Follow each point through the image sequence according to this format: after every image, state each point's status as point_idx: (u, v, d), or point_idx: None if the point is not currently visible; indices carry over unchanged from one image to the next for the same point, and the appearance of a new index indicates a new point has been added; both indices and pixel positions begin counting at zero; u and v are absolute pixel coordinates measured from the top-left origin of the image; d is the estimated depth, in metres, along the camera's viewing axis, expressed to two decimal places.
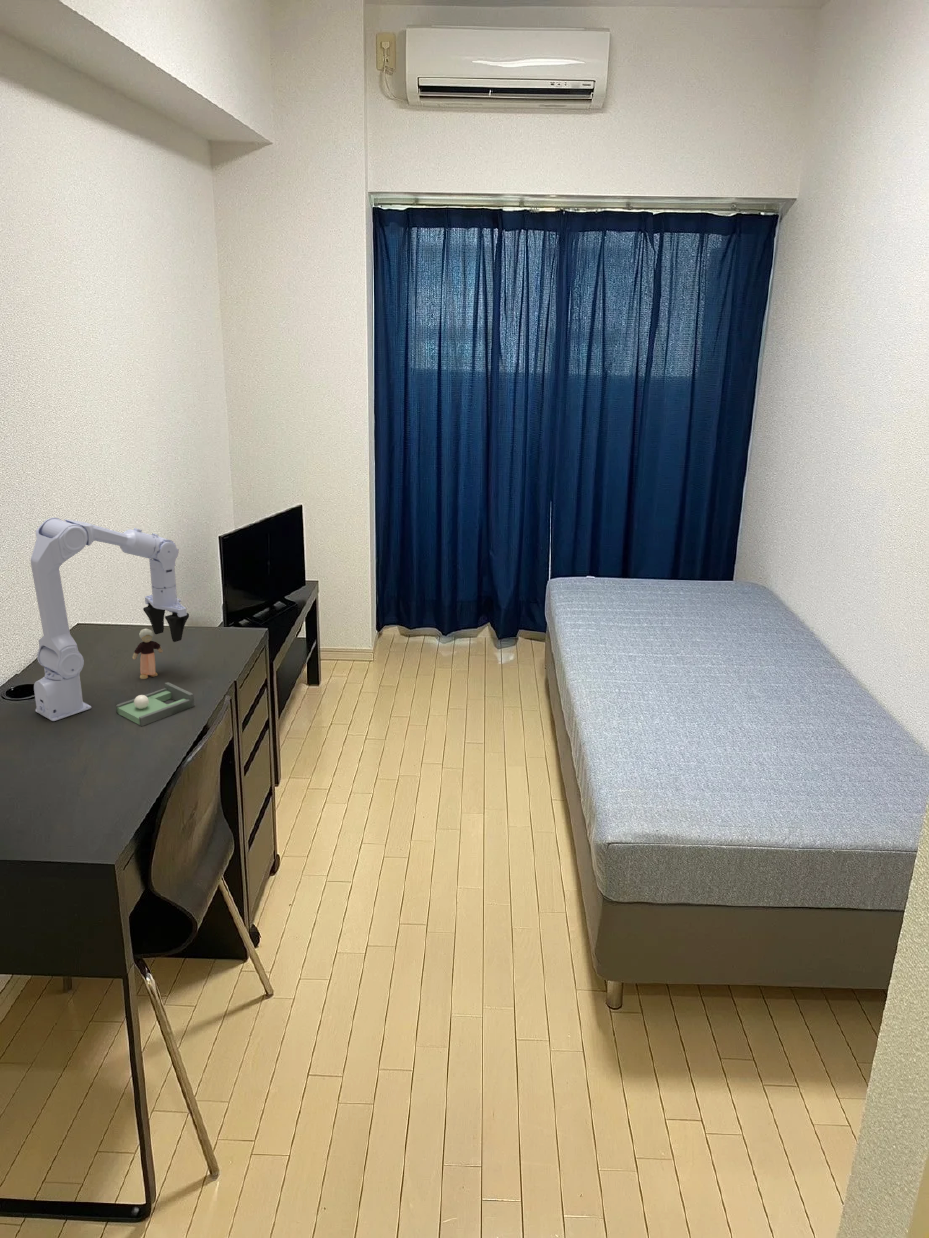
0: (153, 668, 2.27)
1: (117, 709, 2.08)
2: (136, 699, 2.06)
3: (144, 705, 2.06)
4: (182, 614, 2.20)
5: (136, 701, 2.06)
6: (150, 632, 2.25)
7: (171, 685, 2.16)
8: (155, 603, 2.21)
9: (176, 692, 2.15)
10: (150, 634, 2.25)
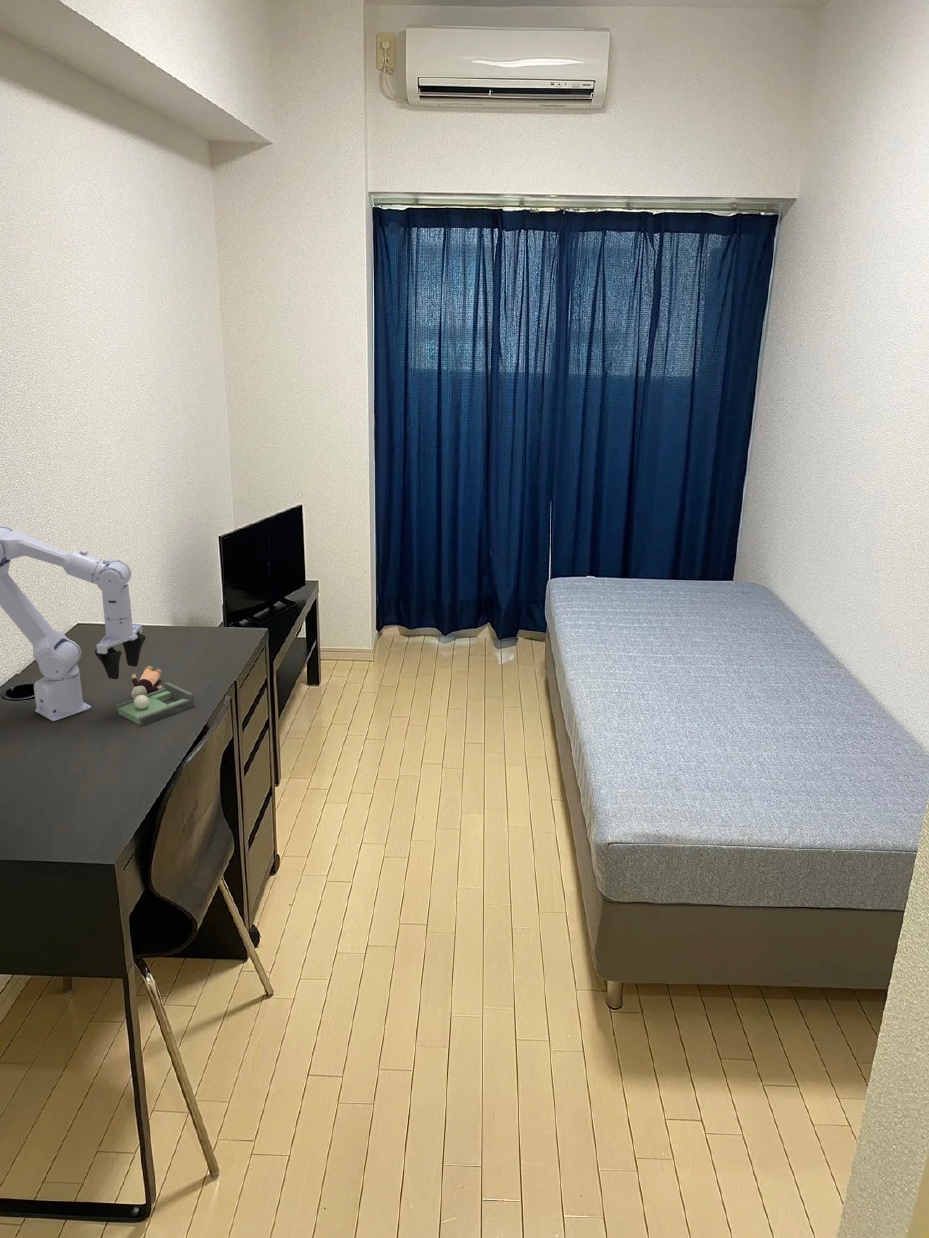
0: None
1: (117, 709, 2.08)
2: (136, 699, 2.06)
3: (144, 705, 2.06)
4: (99, 651, 1.98)
5: (136, 701, 2.06)
6: None
7: (171, 685, 2.16)
8: None
9: (176, 692, 2.15)
10: None
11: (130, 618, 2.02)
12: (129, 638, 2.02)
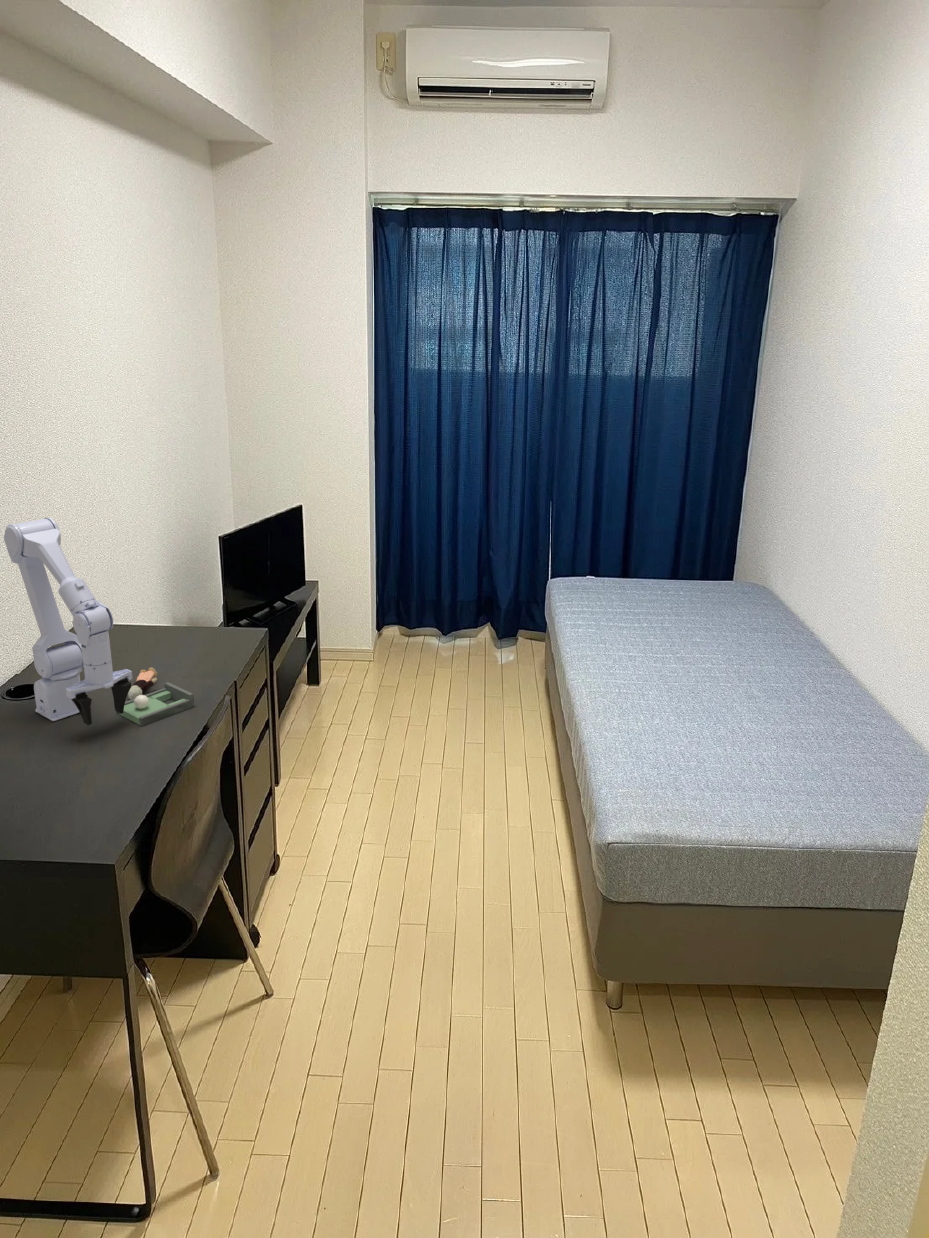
0: None
1: None
2: (136, 699, 2.06)
3: (144, 705, 2.06)
4: (67, 695, 1.92)
5: (136, 701, 2.06)
6: None
7: (171, 685, 2.16)
8: None
9: (176, 692, 2.15)
10: None
11: (106, 665, 1.95)
12: (103, 685, 1.95)
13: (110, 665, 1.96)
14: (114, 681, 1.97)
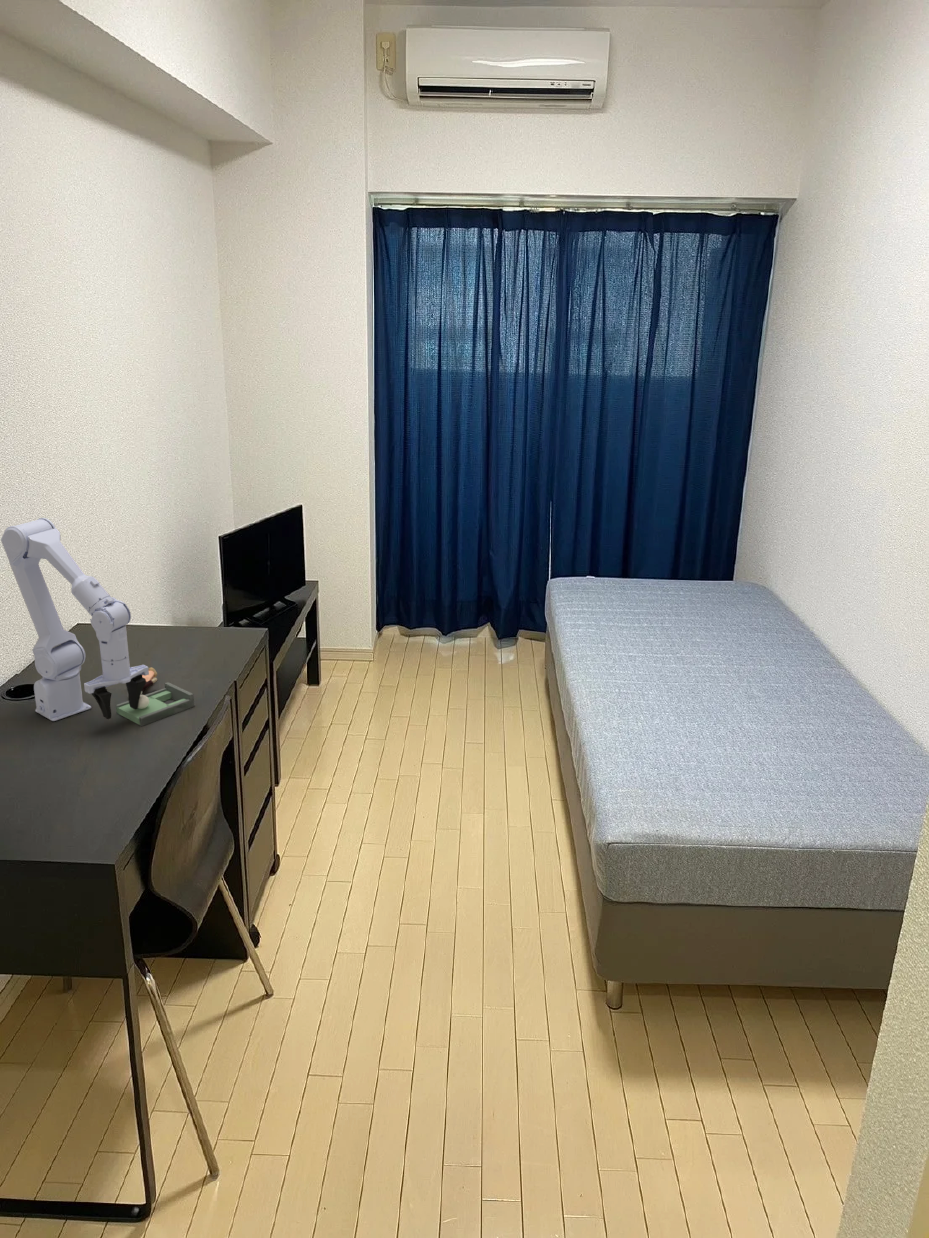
0: None
1: (117, 709, 2.08)
2: None
3: (144, 705, 2.06)
4: (86, 690, 1.96)
5: None
6: None
7: (171, 685, 2.16)
8: None
9: (176, 692, 2.15)
10: None
11: (124, 661, 1.98)
12: (120, 681, 1.98)
13: (127, 661, 1.99)
14: (131, 676, 2.00)
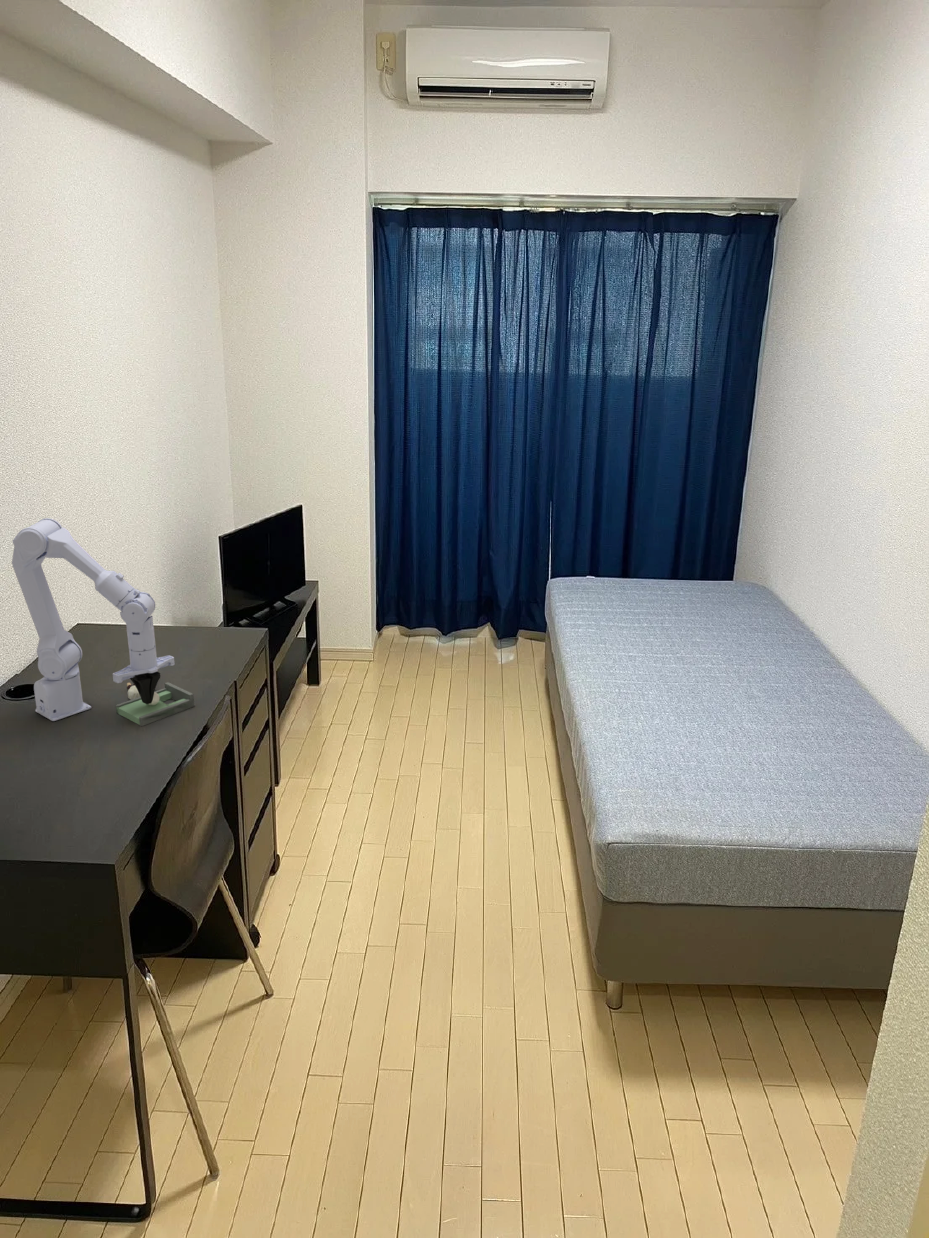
0: None
1: (117, 709, 2.08)
2: (156, 693, 2.10)
3: (154, 699, 2.08)
4: (114, 680, 2.00)
5: (155, 692, 2.09)
6: None
7: (171, 685, 2.16)
8: None
9: (176, 692, 2.15)
10: None
11: (151, 651, 2.03)
12: (147, 670, 2.03)
13: (154, 651, 2.04)
14: (158, 666, 2.05)
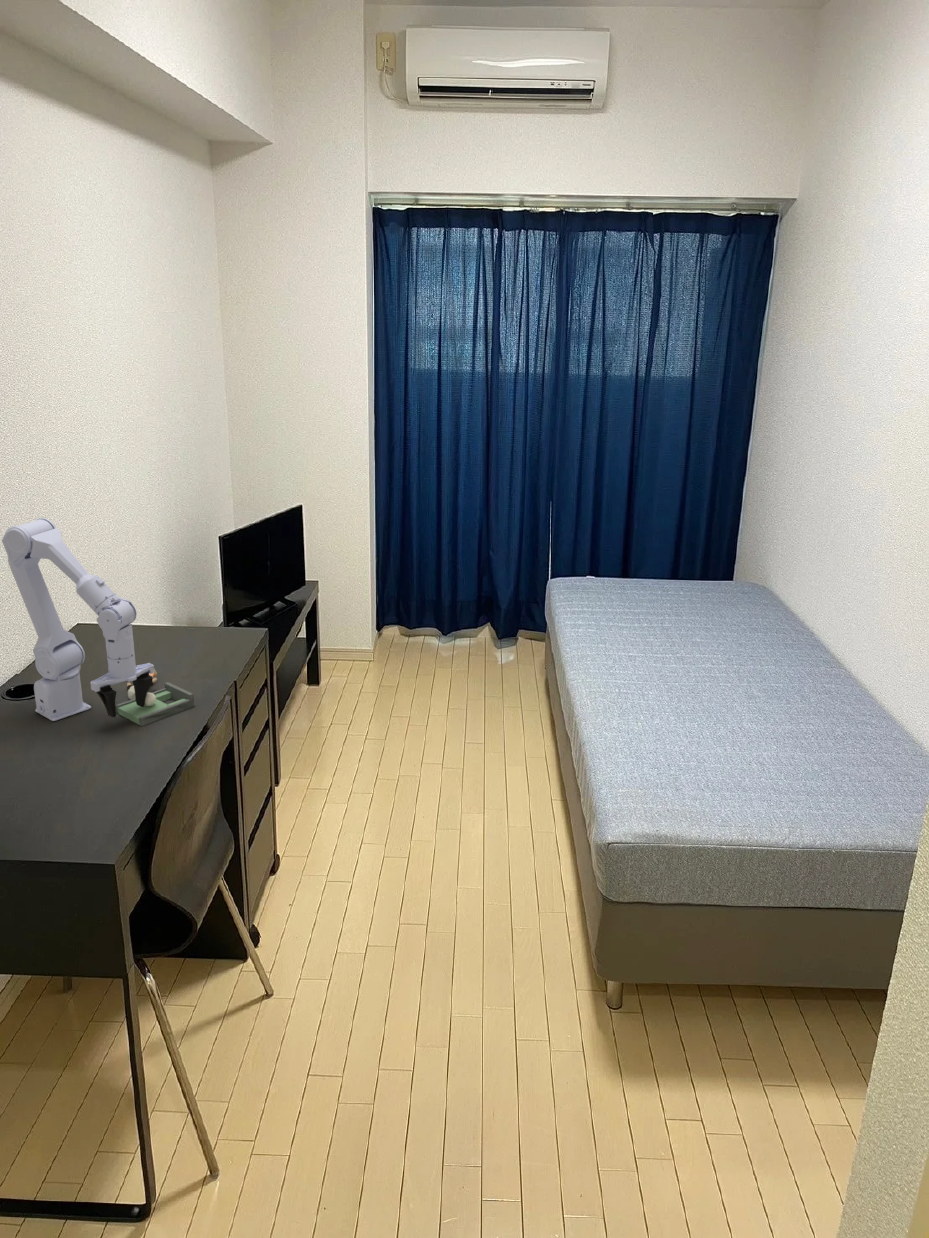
0: None
1: (117, 709, 2.08)
2: None
3: (150, 701, 2.07)
4: (92, 688, 1.97)
5: (148, 693, 2.08)
6: None
7: (171, 685, 2.16)
8: None
9: (176, 692, 2.15)
10: None
11: (130, 659, 1.99)
12: (126, 679, 1.99)
13: (133, 659, 2.00)
14: (137, 674, 2.02)
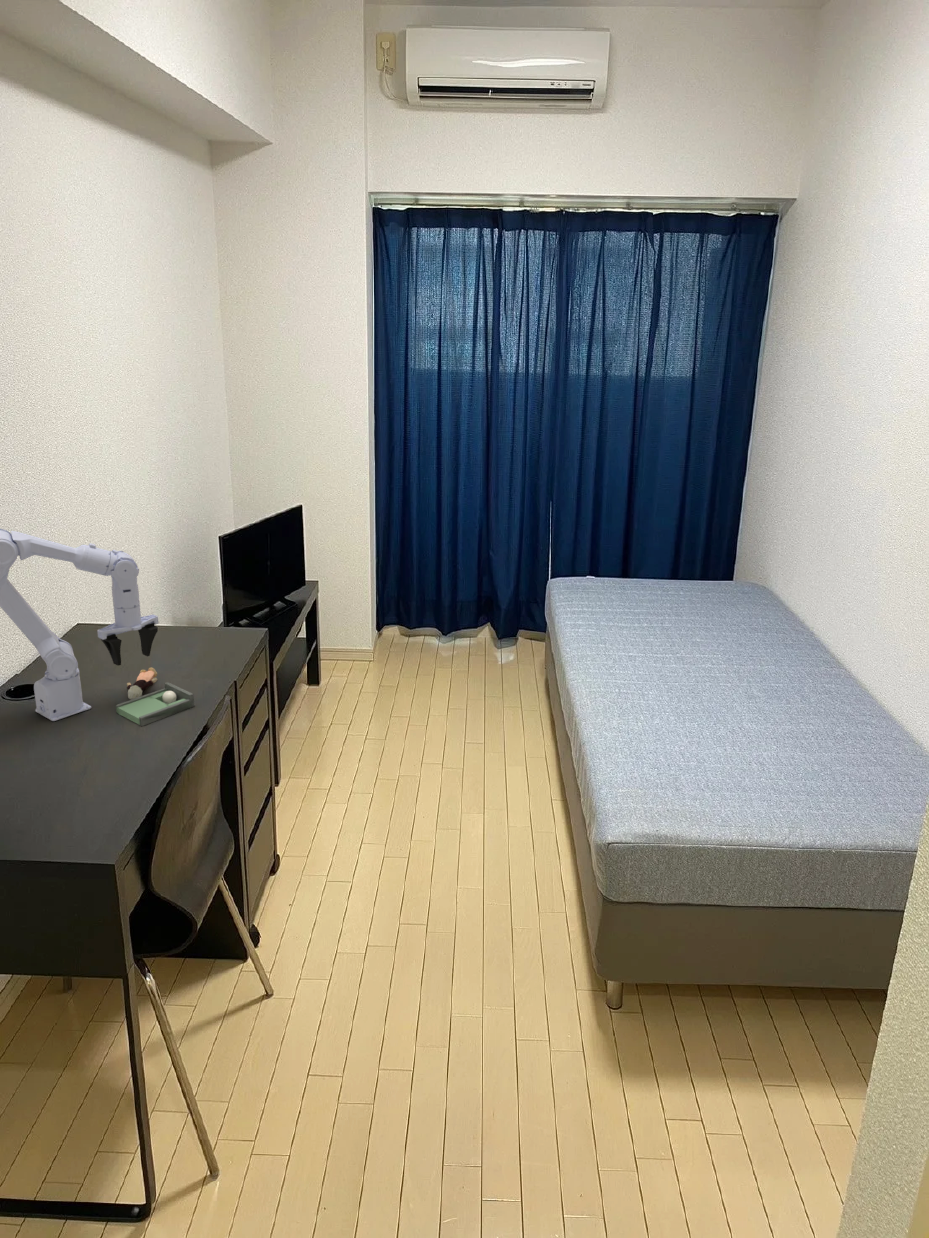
0: None
1: (117, 709, 2.08)
2: (164, 701, 2.13)
3: (174, 701, 2.13)
4: (99, 636, 2.05)
5: None
6: None
7: (171, 685, 2.16)
8: None
9: (176, 692, 2.15)
10: None
11: (135, 609, 2.07)
12: (132, 628, 2.07)
13: (138, 609, 2.09)
14: (142, 624, 2.10)
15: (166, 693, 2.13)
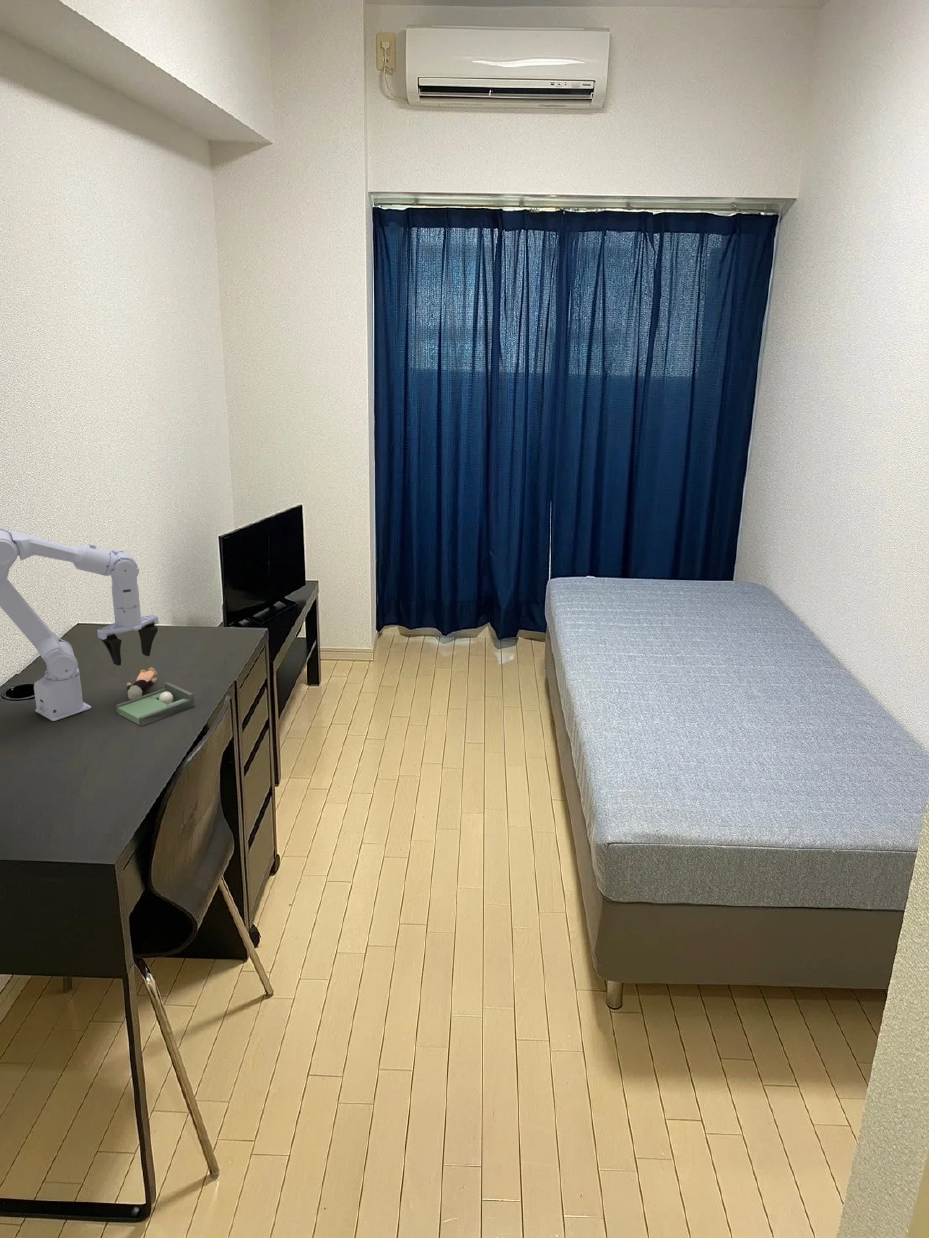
0: None
1: (117, 709, 2.08)
2: None
3: (172, 700, 2.13)
4: (99, 636, 2.05)
5: None
6: None
7: (171, 685, 2.16)
8: None
9: (176, 692, 2.15)
10: None
11: (135, 609, 2.07)
12: (132, 628, 2.07)
13: (138, 609, 2.09)
14: (142, 624, 2.10)
15: (161, 697, 2.12)
